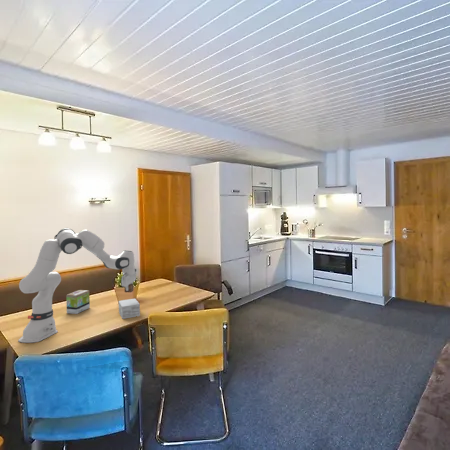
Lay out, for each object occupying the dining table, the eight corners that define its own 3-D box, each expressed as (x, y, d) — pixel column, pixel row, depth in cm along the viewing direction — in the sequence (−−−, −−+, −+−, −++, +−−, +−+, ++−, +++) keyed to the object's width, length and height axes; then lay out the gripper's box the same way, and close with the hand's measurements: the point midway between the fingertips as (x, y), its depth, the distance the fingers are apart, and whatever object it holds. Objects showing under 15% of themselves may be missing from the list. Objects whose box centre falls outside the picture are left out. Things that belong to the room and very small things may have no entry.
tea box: (77, 314, 229) (77, 295, 228) (66, 313, 231) (65, 294, 230) (90, 307, 244) (89, 289, 243) (79, 307, 246) (78, 289, 245)
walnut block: (131, 292, 225) (130, 285, 224) (124, 292, 225) (124, 285, 225) (133, 290, 230) (133, 284, 229) (127, 290, 230) (127, 284, 230)
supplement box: (140, 316, 224) (140, 303, 223) (122, 319, 218) (121, 306, 217) (135, 309, 239) (135, 297, 238) (118, 312, 233) (118, 300, 232)
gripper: (127, 274, 216) (127, 293, 217) (137, 268, 236) (137, 285, 237) (118, 274, 216) (119, 293, 217) (129, 268, 237) (130, 285, 238)
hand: (129, 289), depth 227 cm, fingers closed on walnut block, 5 cm apart
